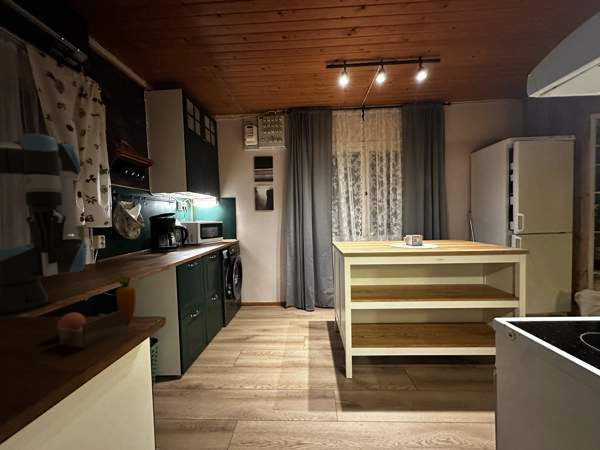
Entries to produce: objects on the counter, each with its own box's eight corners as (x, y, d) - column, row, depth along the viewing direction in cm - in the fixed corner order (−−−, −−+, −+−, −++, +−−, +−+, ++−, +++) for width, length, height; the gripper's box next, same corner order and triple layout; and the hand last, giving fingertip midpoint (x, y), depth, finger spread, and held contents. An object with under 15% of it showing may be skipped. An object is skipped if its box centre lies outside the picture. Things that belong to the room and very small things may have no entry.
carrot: (140, 323, 82) (136, 273, 82) (120, 329, 79) (116, 277, 78) (135, 319, 86) (131, 271, 85) (116, 324, 82) (112, 274, 82)
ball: (84, 317, 75) (83, 337, 76) (87, 307, 80) (86, 326, 81) (55, 320, 72) (54, 341, 73) (60, 309, 77) (60, 329, 78)
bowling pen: (60, 344, 71) (58, 321, 71) (101, 327, 81) (99, 307, 81) (86, 348, 68) (84, 324, 67) (126, 330, 78) (124, 309, 78)
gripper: (11, 192, 76) (19, 277, 77) (42, 189, 72) (50, 278, 73) (44, 193, 83) (51, 271, 84) (74, 190, 79) (80, 272, 80)
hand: (50, 274), depth 79 cm, fingers closed
